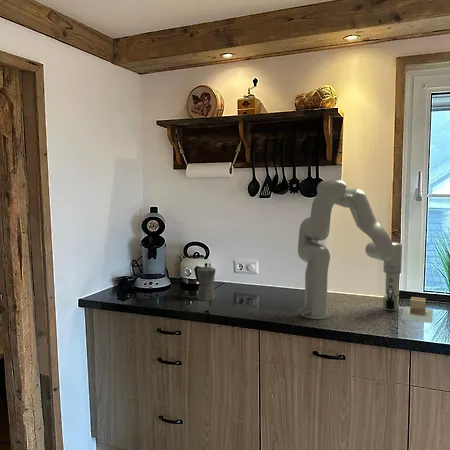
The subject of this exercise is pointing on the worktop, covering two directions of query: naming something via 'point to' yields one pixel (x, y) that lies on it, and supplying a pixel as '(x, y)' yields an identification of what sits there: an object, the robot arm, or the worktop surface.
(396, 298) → the green block
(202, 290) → the coffeepot
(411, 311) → the oak block
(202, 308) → the worktop surface
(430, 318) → the plan board
